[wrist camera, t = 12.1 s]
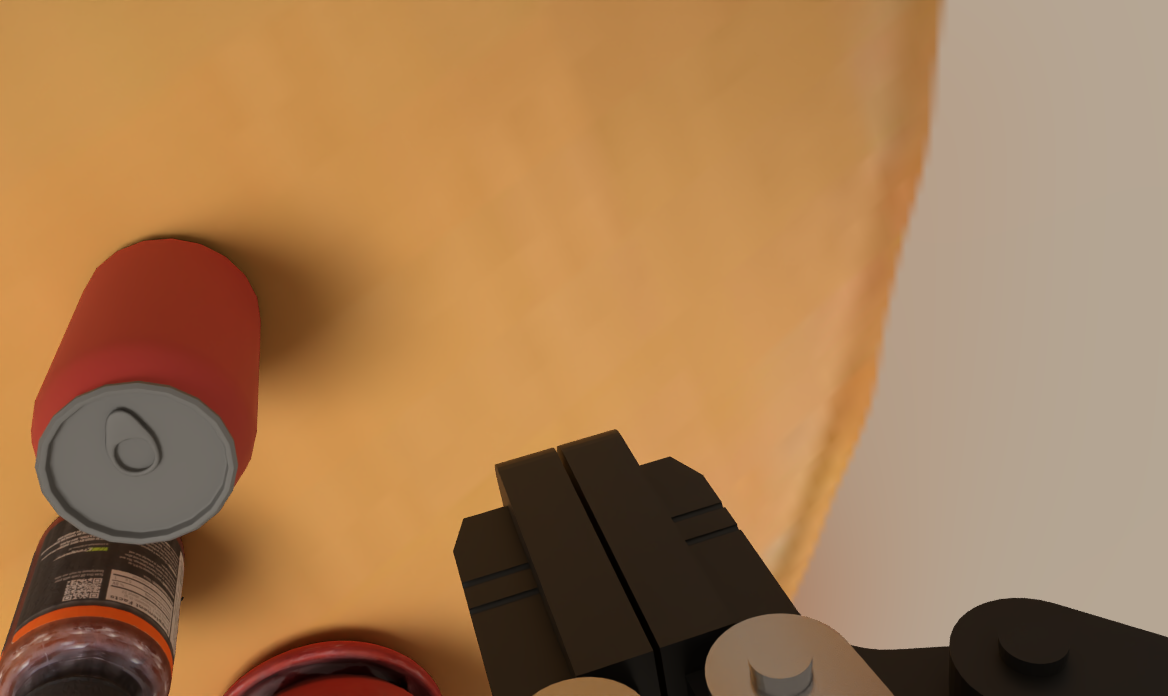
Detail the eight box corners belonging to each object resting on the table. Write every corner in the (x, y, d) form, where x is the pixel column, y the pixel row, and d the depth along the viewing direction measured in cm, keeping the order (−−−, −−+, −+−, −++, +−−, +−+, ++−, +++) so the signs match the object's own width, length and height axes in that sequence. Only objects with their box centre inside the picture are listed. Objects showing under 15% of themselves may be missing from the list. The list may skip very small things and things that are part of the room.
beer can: (231, 215, 40) (215, 343, 30) (281, 362, 43) (282, 525, 33) (55, 256, 39) (-26, 403, 29) (119, 403, 42) (67, 586, 32)
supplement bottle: (97, 629, 46) (49, 840, 36) (5, 539, 43) (-75, 742, 33) (215, 563, 46) (198, 755, 37) (131, 468, 43) (88, 650, 34)
